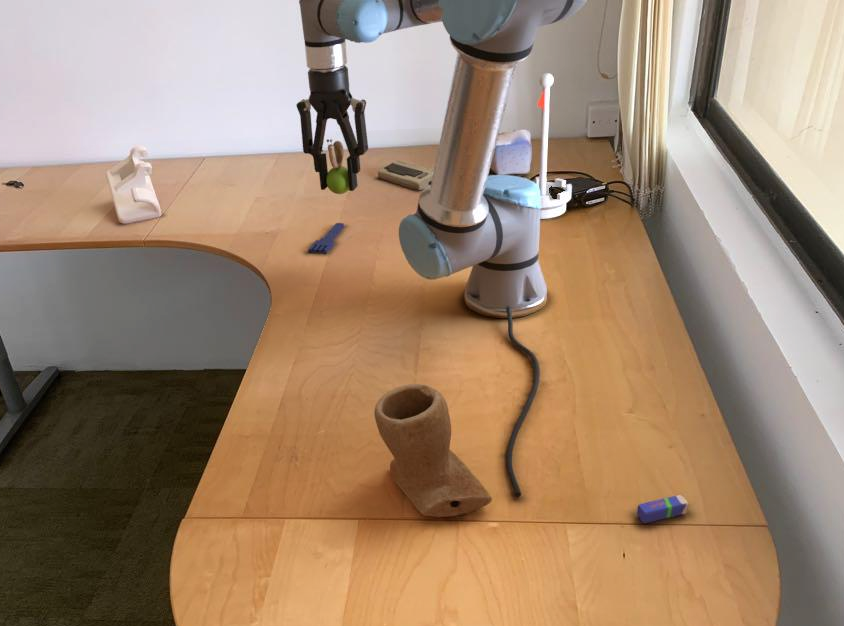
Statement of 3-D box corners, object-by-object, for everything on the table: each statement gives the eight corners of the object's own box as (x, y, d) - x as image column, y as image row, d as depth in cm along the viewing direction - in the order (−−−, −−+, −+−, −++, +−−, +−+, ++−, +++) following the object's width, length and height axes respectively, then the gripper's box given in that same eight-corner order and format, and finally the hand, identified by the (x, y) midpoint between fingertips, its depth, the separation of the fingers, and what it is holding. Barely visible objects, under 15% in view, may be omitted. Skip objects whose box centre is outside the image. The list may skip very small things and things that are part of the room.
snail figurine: (322, 199, 168) (315, 139, 162) (332, 187, 173) (326, 129, 167) (348, 200, 167) (342, 139, 160) (357, 188, 172) (352, 129, 165)
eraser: (687, 514, 107) (689, 502, 106) (643, 525, 106) (645, 513, 105) (678, 505, 108) (680, 493, 107) (636, 515, 108) (637, 503, 106)
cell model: (492, 139, 204) (472, 119, 221) (492, 182, 210) (473, 159, 227) (544, 131, 205) (521, 112, 222) (543, 175, 211) (520, 153, 227)
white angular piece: (167, 230, 217) (161, 194, 206) (123, 239, 215) (114, 203, 203) (150, 175, 226) (143, 138, 215) (107, 184, 224) (98, 146, 212)
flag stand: (524, 196, 201) (528, 64, 184) (578, 202, 195) (587, 66, 178) (503, 216, 192) (505, 80, 175) (559, 223, 186) (566, 82, 169)
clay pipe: (369, 471, 120) (360, 383, 112) (445, 448, 123) (441, 361, 114) (411, 538, 108) (404, 445, 100) (494, 511, 111) (494, 418, 102)
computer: (377, 178, 220) (376, 166, 218) (400, 170, 224) (399, 158, 222) (419, 191, 210) (418, 178, 208) (442, 182, 214) (441, 169, 212)
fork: (326, 254, 184) (325, 250, 183) (308, 252, 185) (308, 249, 185) (348, 226, 195) (348, 223, 195) (331, 226, 197) (331, 222, 196)
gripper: (380, 61, 156) (388, 182, 169) (289, 62, 162) (304, 179, 175) (367, 72, 150) (376, 196, 163) (274, 72, 156) (290, 192, 169)
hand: (339, 187), depth 169 cm, fingers closed on snail figurine, 5 cm apart
